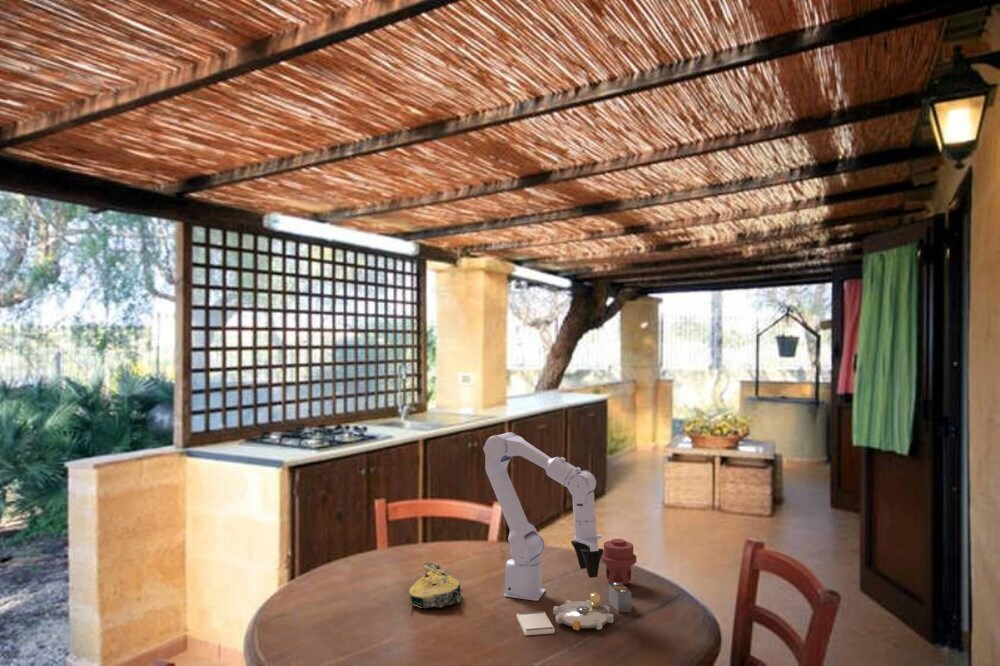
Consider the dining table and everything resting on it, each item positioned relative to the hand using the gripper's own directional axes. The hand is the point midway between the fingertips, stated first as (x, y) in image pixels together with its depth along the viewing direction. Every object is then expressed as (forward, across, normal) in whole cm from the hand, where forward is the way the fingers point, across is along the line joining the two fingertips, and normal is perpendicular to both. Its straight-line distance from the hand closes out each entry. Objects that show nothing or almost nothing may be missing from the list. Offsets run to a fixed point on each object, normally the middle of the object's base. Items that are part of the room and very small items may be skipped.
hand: (588, 572), depth 163 cm
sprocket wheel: (+9, -8, +4) cm, 13 cm away
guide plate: (+8, -8, +16) cm, 20 cm away
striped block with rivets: (+9, -1, -7) cm, 12 cm away
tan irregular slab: (+6, +17, +39) cm, 43 cm away
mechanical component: (+9, +14, -12) cm, 21 cm away
